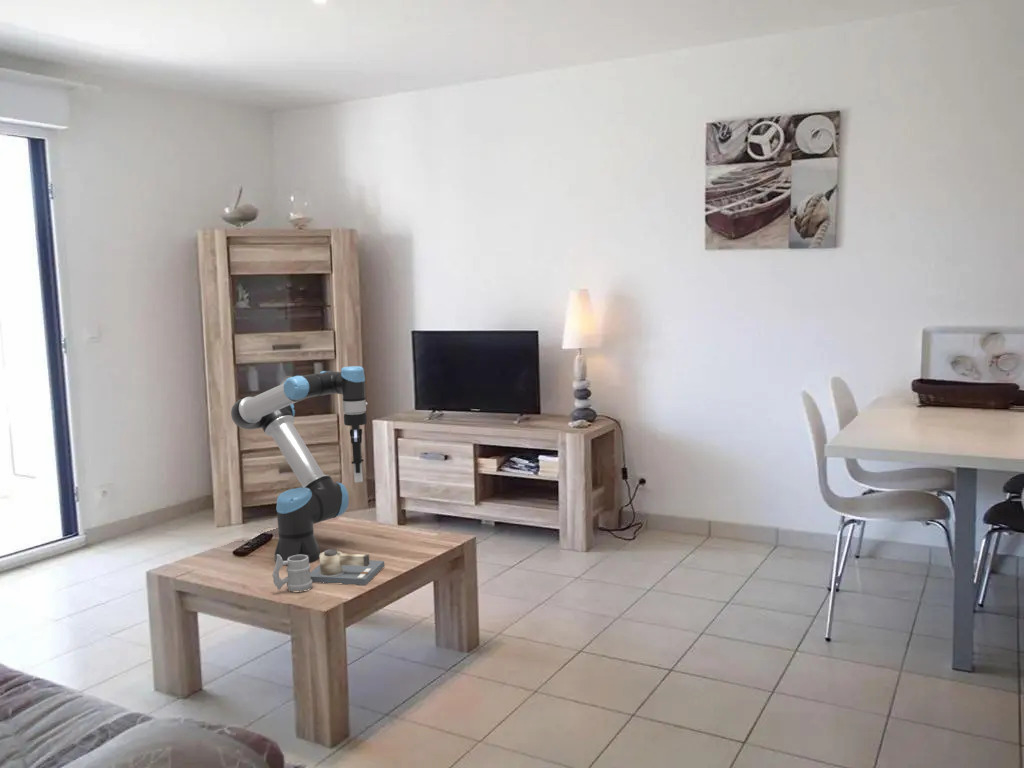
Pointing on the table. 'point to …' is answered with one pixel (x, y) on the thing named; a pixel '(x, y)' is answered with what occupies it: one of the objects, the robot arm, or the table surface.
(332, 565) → the lever
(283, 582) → the mug
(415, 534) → the table surface
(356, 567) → the grey base plate
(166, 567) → the table surface
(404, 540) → the table surface
